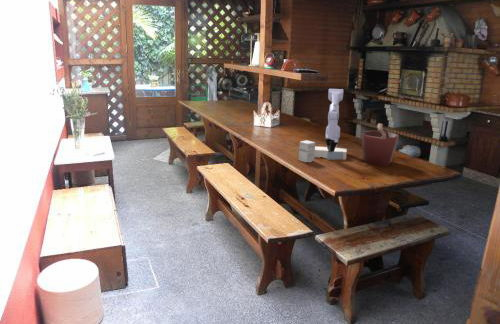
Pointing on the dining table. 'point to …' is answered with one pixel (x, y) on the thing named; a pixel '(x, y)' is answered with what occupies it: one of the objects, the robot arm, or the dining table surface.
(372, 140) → the bucket
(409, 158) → the dining table surface
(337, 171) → the dining table surface
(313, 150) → the supplement box
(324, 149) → the carton
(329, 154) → the flap
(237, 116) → the dining table surface
